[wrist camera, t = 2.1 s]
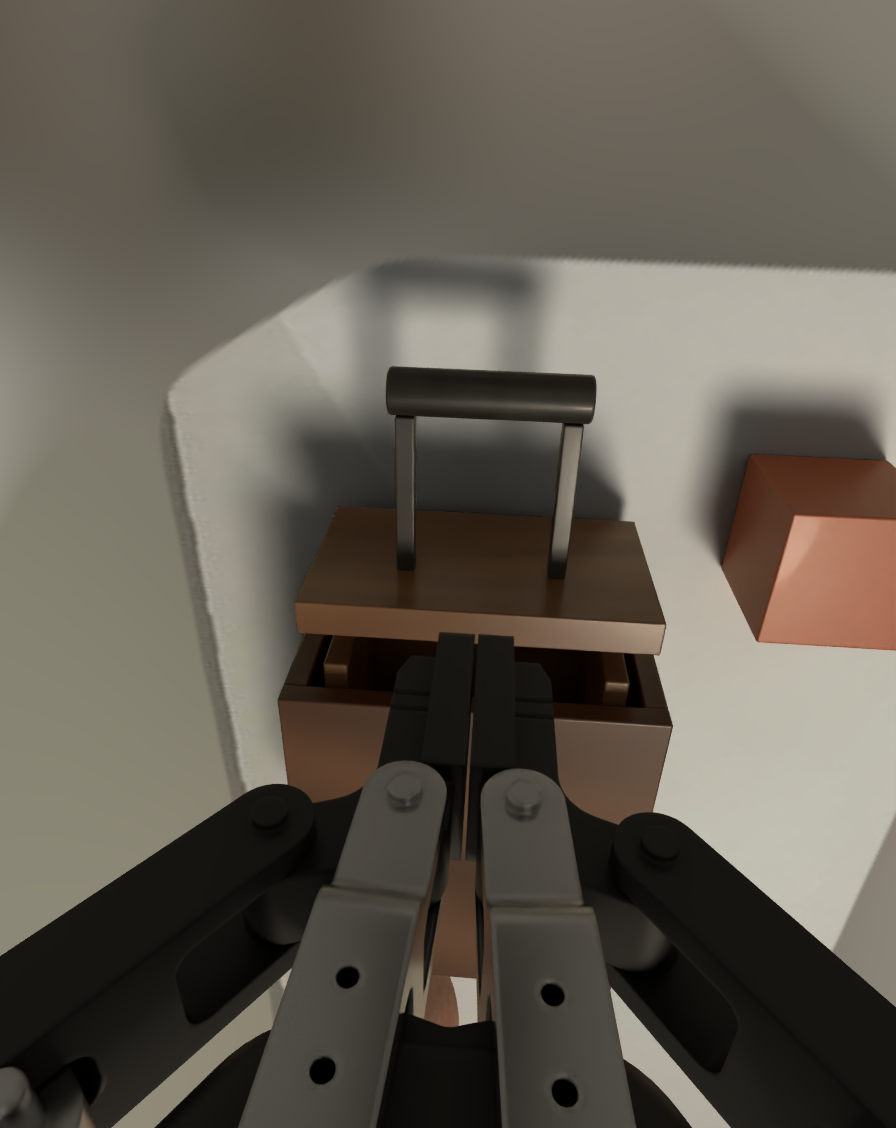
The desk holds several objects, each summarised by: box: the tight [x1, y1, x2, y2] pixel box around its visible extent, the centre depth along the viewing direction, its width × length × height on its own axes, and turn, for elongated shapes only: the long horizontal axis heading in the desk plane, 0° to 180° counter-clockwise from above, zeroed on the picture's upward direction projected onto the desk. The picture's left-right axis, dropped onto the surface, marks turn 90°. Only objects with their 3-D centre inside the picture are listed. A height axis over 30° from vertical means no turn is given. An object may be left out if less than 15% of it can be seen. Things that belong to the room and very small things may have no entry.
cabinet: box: [278, 633, 673, 989], centre depth 31 cm, size 15×13×9 cm
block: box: [722, 454, 896, 650], centre depth 26 cm, size 5×5×5 cm
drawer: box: [294, 366, 666, 707], centre depth 27 cm, size 20×11×7 cm, turn 179°
